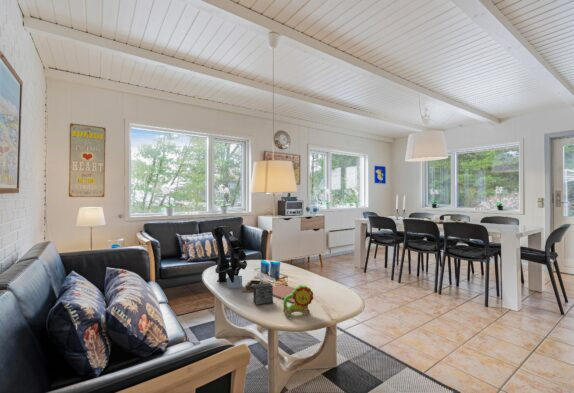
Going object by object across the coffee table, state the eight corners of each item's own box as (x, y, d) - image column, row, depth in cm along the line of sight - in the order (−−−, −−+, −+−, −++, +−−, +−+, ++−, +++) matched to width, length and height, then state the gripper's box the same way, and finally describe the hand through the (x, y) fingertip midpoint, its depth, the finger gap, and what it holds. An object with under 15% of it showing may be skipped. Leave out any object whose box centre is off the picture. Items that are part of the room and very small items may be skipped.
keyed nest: (248, 283, 205) (248, 278, 205) (266, 283, 204) (266, 279, 204) (241, 292, 187) (241, 287, 187) (261, 292, 186) (261, 288, 186)
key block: (229, 285, 201) (229, 275, 201) (242, 285, 200) (242, 275, 200) (227, 287, 196) (227, 277, 196) (240, 288, 195) (240, 277, 195)
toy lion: (284, 317, 149) (284, 288, 149) (282, 313, 155) (282, 285, 154) (314, 315, 152) (314, 286, 151) (311, 311, 157) (311, 283, 157)
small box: (270, 299, 174) (270, 282, 174) (273, 303, 168) (273, 285, 168) (253, 301, 171) (252, 284, 170) (255, 306, 165) (255, 287, 164)
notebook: (313, 297, 179) (313, 294, 179) (294, 305, 167) (294, 301, 167) (282, 286, 198) (282, 284, 198) (263, 293, 186) (263, 290, 186)
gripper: (242, 261, 187) (242, 285, 188) (249, 255, 206) (249, 276, 206) (225, 261, 189) (225, 284, 189) (234, 254, 207) (234, 276, 208)
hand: (234, 280), depth 198 cm, fingers open, 9 cm apart
